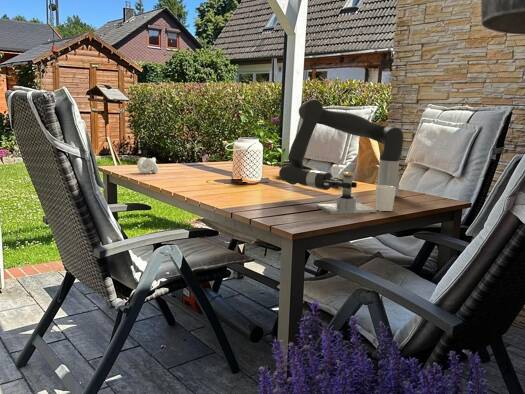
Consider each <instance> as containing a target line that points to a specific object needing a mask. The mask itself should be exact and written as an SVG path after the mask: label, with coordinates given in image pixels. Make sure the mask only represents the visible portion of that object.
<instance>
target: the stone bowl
mask: <svg viewBox="0 0 525 394" xmlns="http://www.w3.org/2000/svg"><path fill="white" fill-rule="evenodd" d="M276 165H277V166H279V167H281V168H282V167H284V166H291V163H290V161H289V160H287V161H286V160H285V161H283V162H278V161H276ZM302 169H303V170H311V171H319V170H318V168H316V167H313V166H311V165H306V164H303V167H302Z"/></svg>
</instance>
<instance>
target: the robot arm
mask: <svg viewBox="0 0 525 394" xmlns="http://www.w3.org/2000/svg"><path fill="white" fill-rule="evenodd" d="M298 115H299V116H300V118H301V119H302V122H301V125H300V127H299V130H298V131H297V134H296V135H295V137H294V139H293V142H292V144H291V146H290V150H289V152H288V157H287V161H290V163H291V166H284V167H281V168H280V169H279V172H278V175H279V178H280V179H281V180H282V181H283V182H286V183H288V184H289V185H292V186H294V185H297V184H298V185H300V186H305V187H309V188H312V189H317V190H323V191H328V190H330V189H331V188H332V189H343V188H347V189H350V188H351V183H345V182H343V177H341V178H337V177H334V178H333V177H332V175H331V174H332V172H327V171H320V170H316V171H311V170H303V169H302V167H303V165H304V164H303V162H304V159H305V156H306V153H307V150H308V146H309V144H310V141H311V138H312V136H313V132H315V131H314V130H315V128H316V127H317V125H321V126H326V127H329V128H331V129H333V130H336V131H340V132H342V133H345V134H349V135H351V136H355V137H362V138H366V139H367V138H368V139H370V140H373V141H375V142H378V143H380V144H382V145H383V152H382V153H380V155H379V164H378V174H377V175H378V176H377V186H378V185H387V186H394V187H396V190H395V197H398V196H399V187H400V178H401V177H400V176H399V169H400V167H399V166H400V159H401V155H402V154H403V153H402V152H403V147H404V146H403V145H404V132H403V131H402V130H401V128H399V127H397V126H387V125H380V124H376V123H373V122H371V121H369V120H368V119H365V118H364V117H362V116H360V115H356V114H354V113H351V112H346V111H345V112H344V111H337V110H336V111H335V110H328V109H325V108H324V106H323V104H322V102H321V101H320V100H318V99H317V98H316V99H315V98H313V99H309V100H307V101H305V102H304V103H302V104H301V105H300V106H299V108H298ZM357 185H358V183H357V182H355V181H352V188H353V189H356V188H357Z"/></svg>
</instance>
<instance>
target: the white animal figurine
mask: <svg viewBox="0 0 525 394" xmlns="http://www.w3.org/2000/svg"><path fill="white" fill-rule="evenodd" d="M156 162H157V159H156V157H152V158H147V157H140V158H139V159H138V160H137V169H138V171H139V172H140V173H141V174H143V175H145V174H149V173H150V172H151V173H152V174H157V173H158V172H159V167H158V164H157V163H156Z"/></svg>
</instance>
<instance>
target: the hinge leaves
mask: <svg viewBox="0 0 525 394" xmlns="http://www.w3.org/2000/svg"><path fill="white" fill-rule="evenodd" d="M316 208H317V209H318V208H319V209H320V210H322V211H323V212H325V213H327V214H330V215H346V214H347V215H348V214H349V215H350V214H352V213H354V214H371V213H370V212H376V213H377V210H376V208H373V207H370V206H368V205H365V204H363V203H360V202H357V197H355V196H352V195H351V199H345V198H342V195H339V196H337V197H336V203H316Z"/></svg>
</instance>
